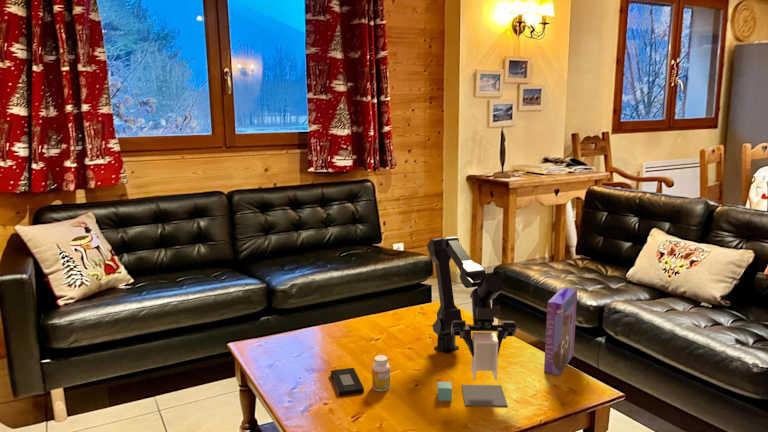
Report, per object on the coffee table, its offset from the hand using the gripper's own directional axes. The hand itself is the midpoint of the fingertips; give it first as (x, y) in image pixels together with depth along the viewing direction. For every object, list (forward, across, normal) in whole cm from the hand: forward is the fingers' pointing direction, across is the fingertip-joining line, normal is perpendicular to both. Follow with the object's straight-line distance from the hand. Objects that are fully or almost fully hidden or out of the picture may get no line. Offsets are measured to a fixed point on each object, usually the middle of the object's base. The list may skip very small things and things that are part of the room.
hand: (485, 356), depth 170 cm
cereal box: (-7, +28, +26) cm, 39 cm away
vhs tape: (+4, -41, +16) cm, 44 cm away
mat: (+8, 0, +10) cm, 13 cm away
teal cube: (+9, -12, +10) cm, 18 cm away
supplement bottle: (+6, -30, +14) cm, 34 cm away
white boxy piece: (+4, 0, +6) cm, 7 cm away
